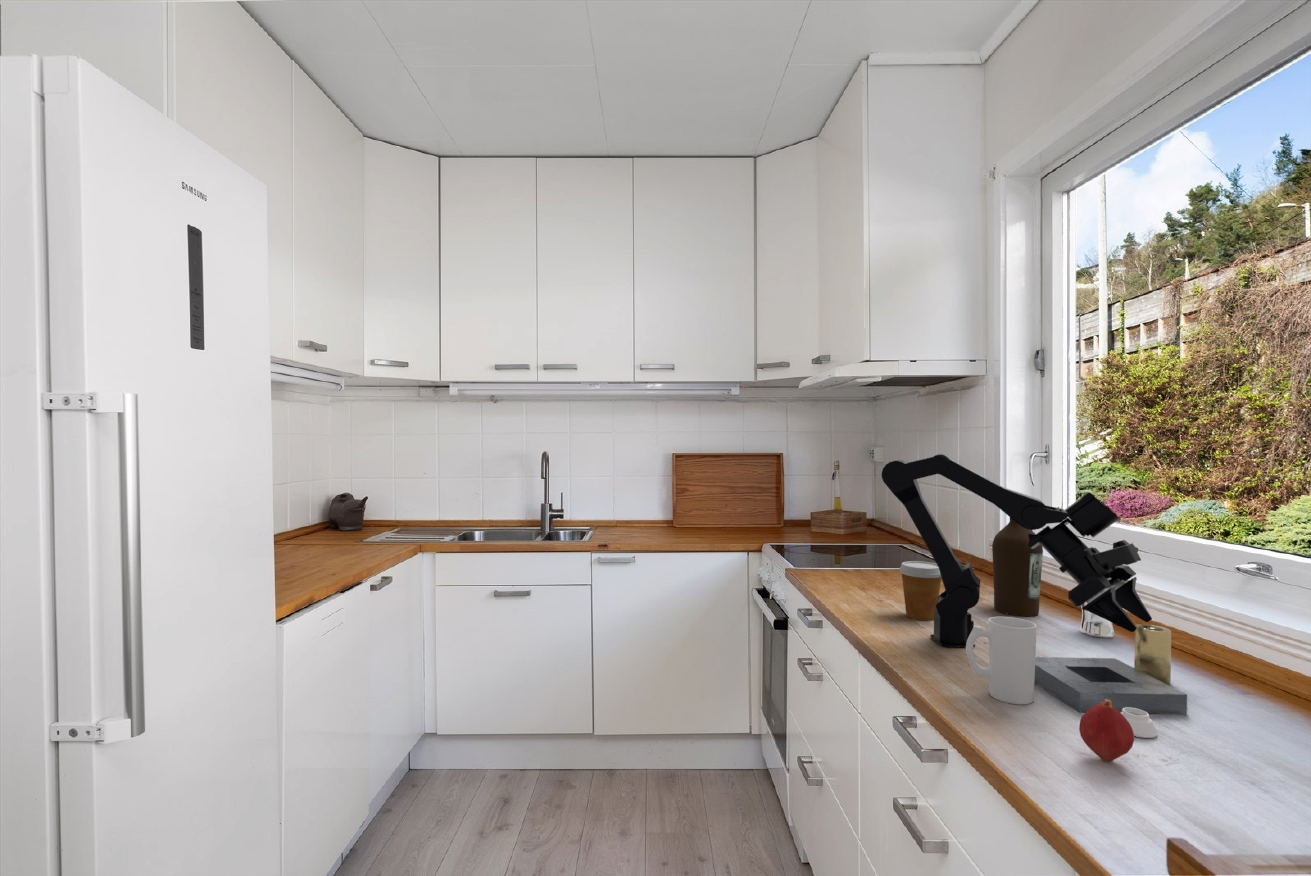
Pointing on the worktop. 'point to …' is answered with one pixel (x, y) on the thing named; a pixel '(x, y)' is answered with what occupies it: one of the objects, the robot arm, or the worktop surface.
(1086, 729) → the onion
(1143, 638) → the brass bushing
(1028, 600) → the olive oil
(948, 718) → the worktop surface
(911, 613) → the disposable coffee cup
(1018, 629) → the mug
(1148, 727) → the white jar
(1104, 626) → the beer glass
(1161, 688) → the plate
